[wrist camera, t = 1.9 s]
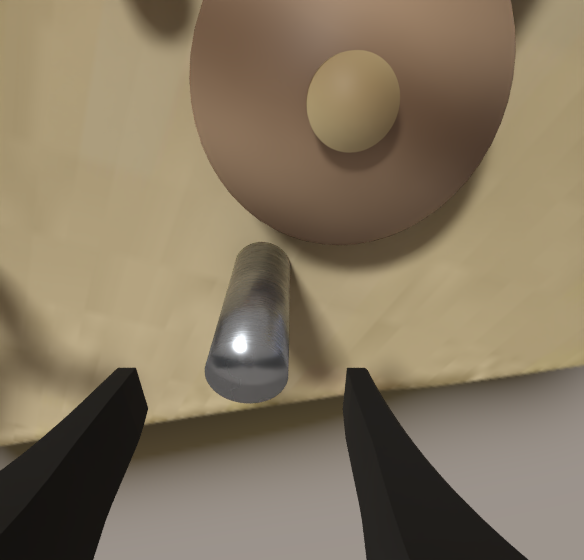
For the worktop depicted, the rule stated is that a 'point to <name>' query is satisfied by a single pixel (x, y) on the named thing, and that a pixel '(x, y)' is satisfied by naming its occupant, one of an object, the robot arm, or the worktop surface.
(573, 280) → the worktop surface
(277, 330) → the steel pin
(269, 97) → the wooden disc with frame
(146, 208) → the worktop surface
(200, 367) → the worktop surface
